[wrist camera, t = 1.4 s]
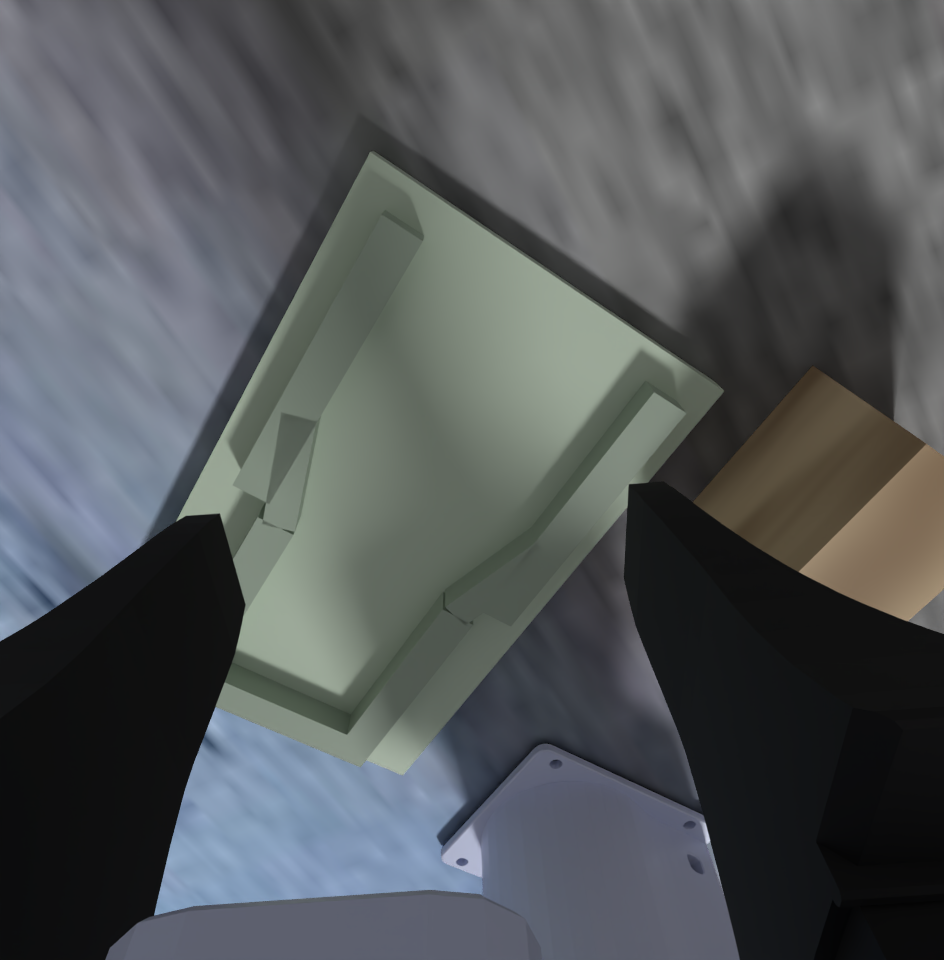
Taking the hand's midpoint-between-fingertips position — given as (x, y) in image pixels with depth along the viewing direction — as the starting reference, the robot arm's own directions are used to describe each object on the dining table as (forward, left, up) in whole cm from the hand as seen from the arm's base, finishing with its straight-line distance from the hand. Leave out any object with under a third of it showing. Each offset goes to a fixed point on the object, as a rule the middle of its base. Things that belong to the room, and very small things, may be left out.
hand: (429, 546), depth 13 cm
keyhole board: (-1, +6, -10) cm, 12 cm away
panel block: (-11, -2, -10) cm, 15 cm away
